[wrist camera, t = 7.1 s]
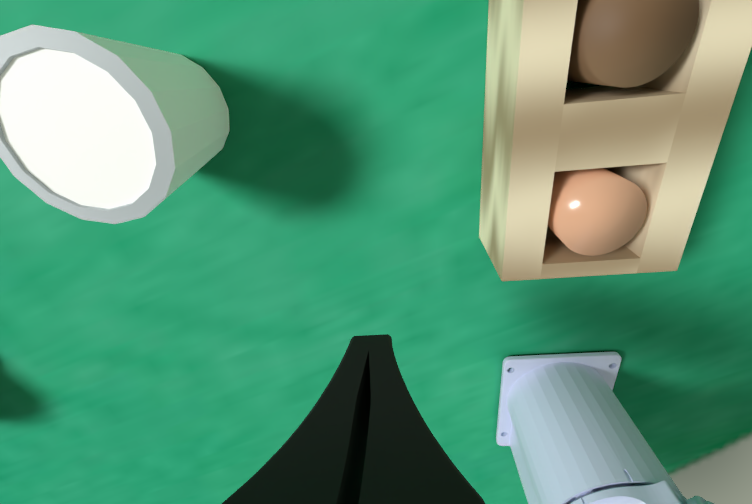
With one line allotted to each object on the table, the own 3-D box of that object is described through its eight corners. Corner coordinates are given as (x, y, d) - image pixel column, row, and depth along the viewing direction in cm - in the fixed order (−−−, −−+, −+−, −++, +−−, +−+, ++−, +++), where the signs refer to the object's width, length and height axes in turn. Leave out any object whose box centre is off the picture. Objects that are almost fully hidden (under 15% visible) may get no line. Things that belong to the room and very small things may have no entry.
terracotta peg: (585, 213, 21) (636, 252, 16) (520, 217, 21) (553, 258, 17) (597, 148, 19) (656, 174, 15) (526, 154, 19) (565, 181, 15)
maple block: (617, 227, 21) (676, 270, 17) (479, 236, 22) (501, 281, 18) (682, -54, 15) (800, -100, 11) (490, -32, 16) (528, -66, 12)
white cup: (86, 41, 18) (-75, 31, 12) (223, 31, 17) (133, 16, 11) (136, 178, 21) (31, 228, 15) (253, 173, 21) (196, 221, 14)
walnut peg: (610, 76, 18) (681, 82, 13) (533, 84, 18) (578, 92, 14) (627, -15, 16) (714, -42, 12) (541, -6, 16) (596, -29, 12)
